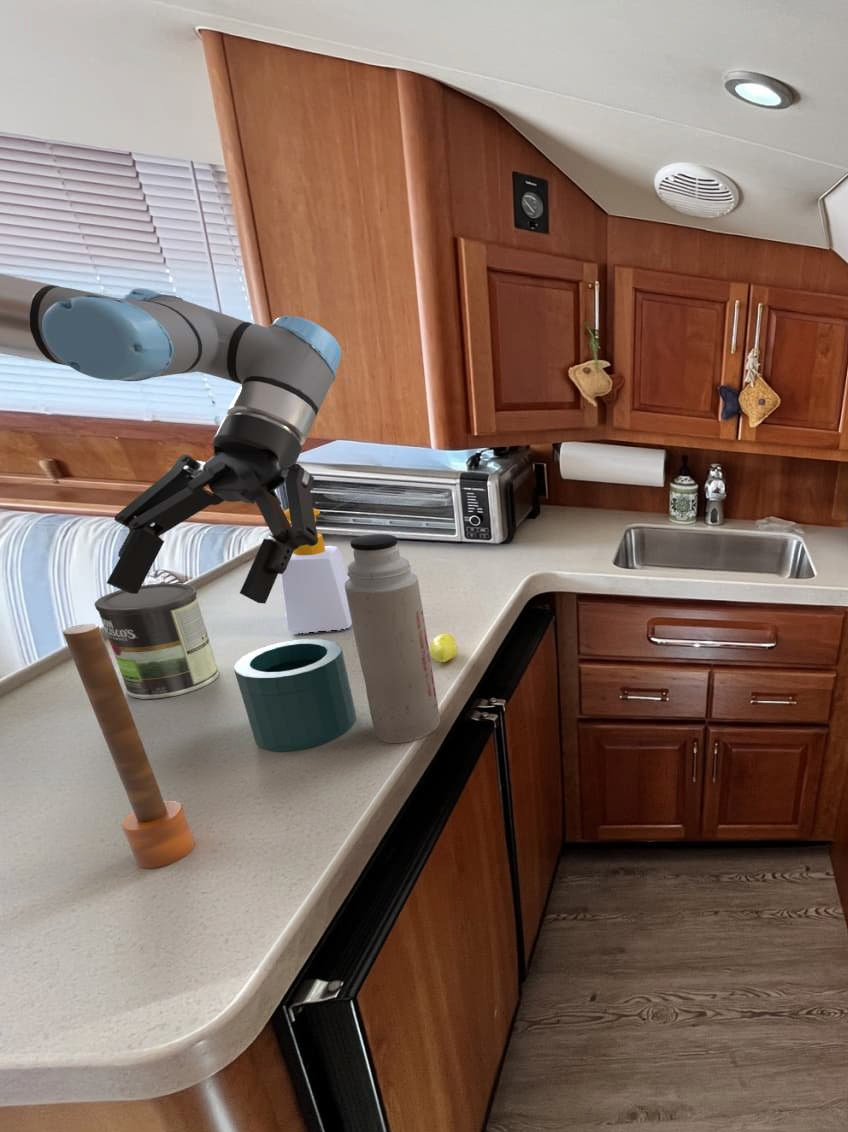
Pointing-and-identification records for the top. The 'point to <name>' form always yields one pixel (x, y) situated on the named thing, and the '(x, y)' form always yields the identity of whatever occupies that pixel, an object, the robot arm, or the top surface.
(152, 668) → the coffee can
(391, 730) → the thermos bottle
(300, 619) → the soap bottle
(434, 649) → the lemon
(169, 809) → the wooden peg with base
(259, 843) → the top surface
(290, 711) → the teal ring pot
